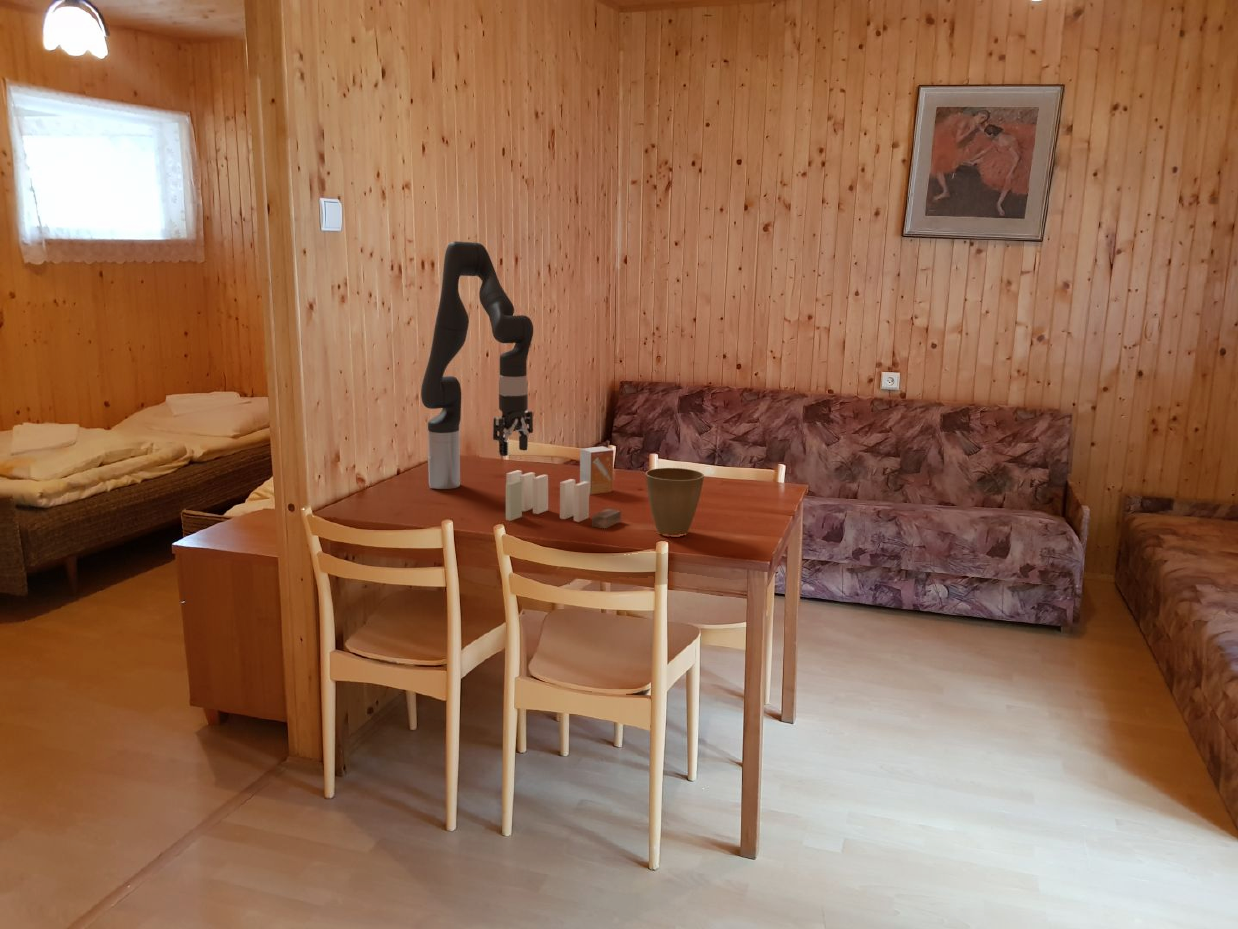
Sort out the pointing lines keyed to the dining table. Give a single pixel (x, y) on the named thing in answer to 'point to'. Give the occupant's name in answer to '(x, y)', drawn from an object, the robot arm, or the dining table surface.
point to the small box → (597, 469)
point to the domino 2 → (513, 500)
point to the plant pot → (673, 498)
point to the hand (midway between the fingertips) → (513, 452)
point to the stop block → (606, 518)
